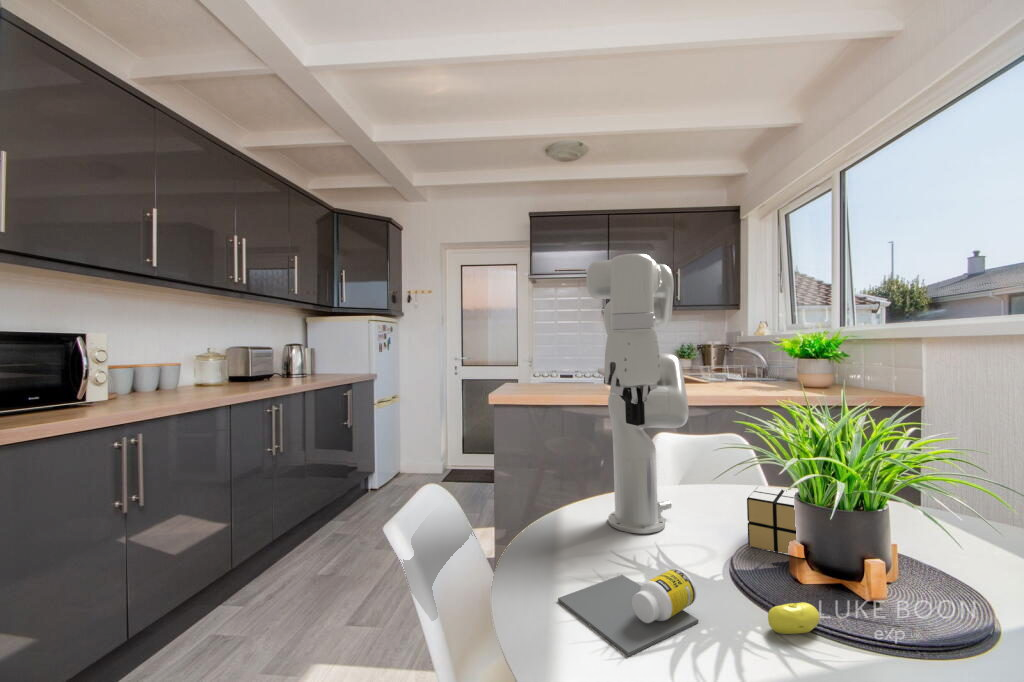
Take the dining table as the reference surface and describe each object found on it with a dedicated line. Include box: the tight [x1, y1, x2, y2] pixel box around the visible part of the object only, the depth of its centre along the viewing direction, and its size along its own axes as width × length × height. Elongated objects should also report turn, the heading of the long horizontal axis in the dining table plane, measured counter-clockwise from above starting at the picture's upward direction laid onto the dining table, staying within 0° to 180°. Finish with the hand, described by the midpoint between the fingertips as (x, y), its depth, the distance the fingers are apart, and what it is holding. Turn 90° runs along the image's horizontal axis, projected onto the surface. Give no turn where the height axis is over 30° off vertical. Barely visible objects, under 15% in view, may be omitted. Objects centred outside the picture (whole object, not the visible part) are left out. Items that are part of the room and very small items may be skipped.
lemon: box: [767, 601, 821, 635], centre depth 67 cm, size 4×8×4 cm, turn 98°
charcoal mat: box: [557, 574, 699, 657], centre depth 73 cm, size 14×16×1 cm
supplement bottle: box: [632, 568, 697, 623], centre depth 71 cm, size 5×5×10 cm
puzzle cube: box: [746, 485, 797, 553], centre depth 95 cm, size 10×10×10 cm
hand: (635, 423), depth 86 cm, fingers closed
